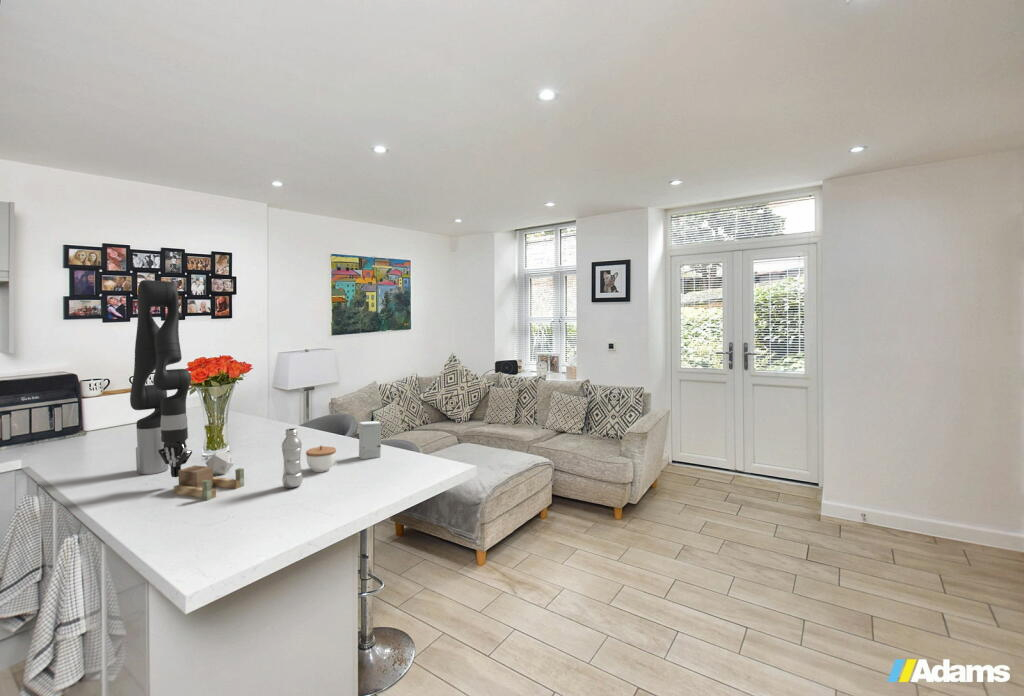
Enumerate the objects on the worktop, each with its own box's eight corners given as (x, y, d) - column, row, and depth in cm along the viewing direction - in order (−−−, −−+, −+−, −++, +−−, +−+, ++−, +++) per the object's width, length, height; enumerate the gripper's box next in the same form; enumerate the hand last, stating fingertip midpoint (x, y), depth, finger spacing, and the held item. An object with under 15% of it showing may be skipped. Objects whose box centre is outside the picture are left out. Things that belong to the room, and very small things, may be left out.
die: (213, 480, 172) (231, 457, 175) (196, 467, 174) (214, 444, 176) (226, 481, 180) (243, 459, 183) (209, 469, 181) (226, 447, 184)
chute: (169, 495, 155) (168, 477, 155) (208, 481, 169) (207, 465, 168) (207, 500, 151) (206, 481, 150) (244, 485, 164) (243, 468, 164)
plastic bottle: (282, 491, 159) (281, 432, 158) (282, 485, 165) (280, 428, 164) (303, 488, 162) (302, 430, 161) (302, 482, 168) (300, 426, 167)
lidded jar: (316, 476, 175) (315, 451, 175) (301, 470, 182) (300, 446, 181) (341, 468, 184) (341, 445, 183) (326, 464, 190) (326, 441, 190)
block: (179, 490, 159) (178, 470, 159) (195, 485, 165) (194, 465, 165) (197, 493, 157) (196, 472, 157) (213, 487, 163) (212, 467, 162)
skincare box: (361, 459, 196) (360, 424, 195) (358, 456, 201) (358, 421, 200) (381, 457, 200) (381, 422, 199) (378, 453, 205) (378, 419, 204)
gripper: (148, 428, 161) (150, 478, 161) (178, 430, 157) (180, 481, 158) (170, 423, 168) (172, 471, 169) (199, 425, 164) (200, 474, 165)
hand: (176, 476), depth 163 cm, fingers closed
